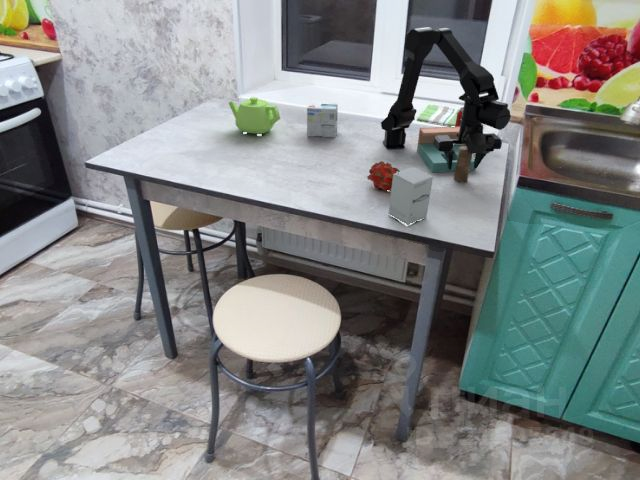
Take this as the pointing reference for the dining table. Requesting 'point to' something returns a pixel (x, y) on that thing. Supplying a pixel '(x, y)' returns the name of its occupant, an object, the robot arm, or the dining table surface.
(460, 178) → the walnut peg
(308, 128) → the light bulb box
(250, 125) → the teapot
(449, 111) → the dish towel
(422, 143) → the socket plate
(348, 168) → the dining table surface
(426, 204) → the supplement box
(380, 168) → the dragon fruit
